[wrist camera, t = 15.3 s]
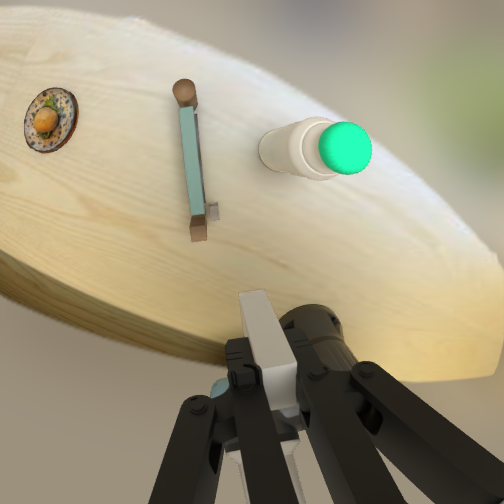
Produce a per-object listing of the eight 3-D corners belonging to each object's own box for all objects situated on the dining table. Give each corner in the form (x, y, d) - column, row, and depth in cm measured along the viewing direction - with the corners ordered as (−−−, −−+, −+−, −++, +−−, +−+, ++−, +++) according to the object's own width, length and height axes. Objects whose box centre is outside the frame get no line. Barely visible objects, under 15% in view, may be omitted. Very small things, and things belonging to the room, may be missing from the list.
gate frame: (218, 219, 47) (222, 238, 37) (192, 223, 47) (188, 242, 36) (206, 94, 40) (207, 76, 30) (179, 97, 39) (172, 80, 29)
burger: (54, 78, 34) (34, 69, 27) (91, 109, 38) (73, 103, 31) (18, 131, 35) (-4, 131, 28) (53, 165, 39) (31, 169, 32)
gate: (183, 116, 39) (178, 108, 32) (195, 114, 40) (192, 106, 32) (193, 205, 44) (191, 215, 37) (205, 203, 44) (204, 213, 37)
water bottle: (262, 174, 46) (321, 196, 23) (254, 133, 43) (306, 111, 20) (302, 166, 46) (390, 182, 23) (295, 126, 44) (378, 105, 21)
